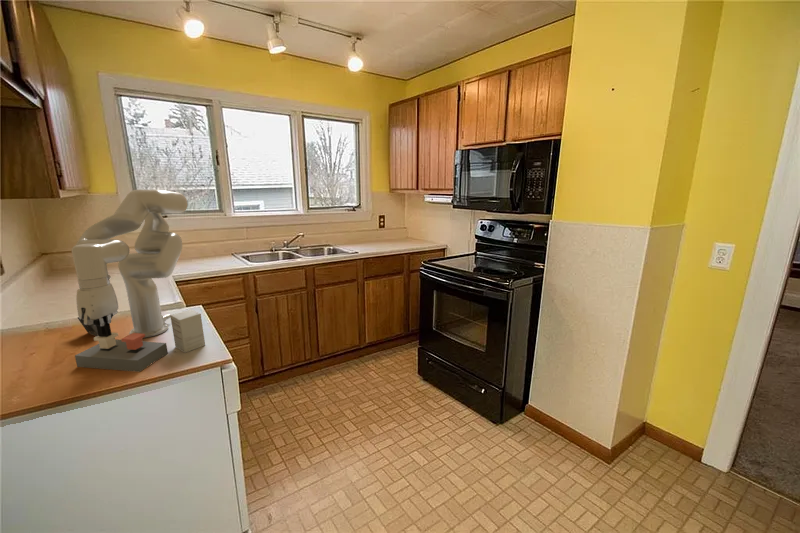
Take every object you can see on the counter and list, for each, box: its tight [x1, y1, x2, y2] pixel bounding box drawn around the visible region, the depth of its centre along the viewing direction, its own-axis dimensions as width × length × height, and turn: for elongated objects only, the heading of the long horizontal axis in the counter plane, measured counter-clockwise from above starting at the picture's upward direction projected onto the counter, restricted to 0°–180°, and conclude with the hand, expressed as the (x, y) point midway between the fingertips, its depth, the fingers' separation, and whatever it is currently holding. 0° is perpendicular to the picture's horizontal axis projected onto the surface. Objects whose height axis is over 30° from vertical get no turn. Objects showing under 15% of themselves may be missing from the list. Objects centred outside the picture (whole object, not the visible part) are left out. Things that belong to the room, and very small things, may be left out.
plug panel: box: [74, 338, 169, 373], centre depth 118 cm, size 12×22×4 cm, turn 84°
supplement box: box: [170, 308, 206, 353], centre depth 126 cm, size 7×7×13 cm
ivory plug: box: [93, 331, 119, 349], centre depth 117 cm, size 4×4×4 cm
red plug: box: [120, 333, 145, 350], centre depth 116 cm, size 4×4×4 cm
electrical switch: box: [77, 316, 98, 337], centre depth 135 cm, size 9×5×9 cm, turn 65°
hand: (105, 335), depth 116 cm, fingers closed
